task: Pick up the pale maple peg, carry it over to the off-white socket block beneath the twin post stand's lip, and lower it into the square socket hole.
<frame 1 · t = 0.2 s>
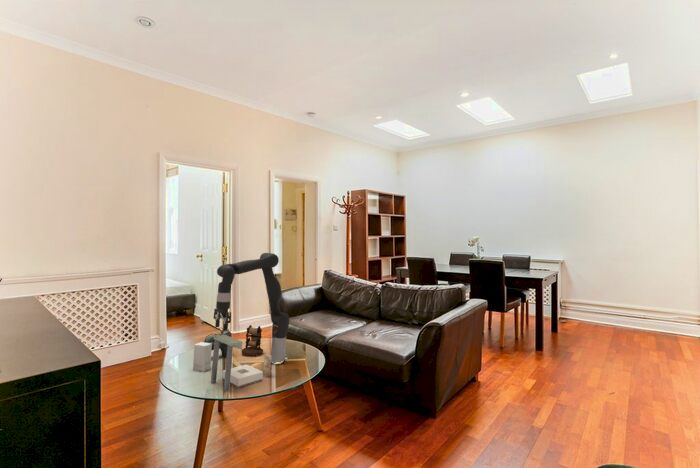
hand: (221, 328, 197), 29 cm above the table, fingers open, 8 cm apart
skincare box: (201, 369, 208), on the table
twin post stand: (223, 385, 188), on the table
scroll: (252, 354, 244), on the table
peg: (266, 376, 206), on the table
socket block: (242, 380, 197), on the table
ceramic cat: (215, 358, 230), on the table
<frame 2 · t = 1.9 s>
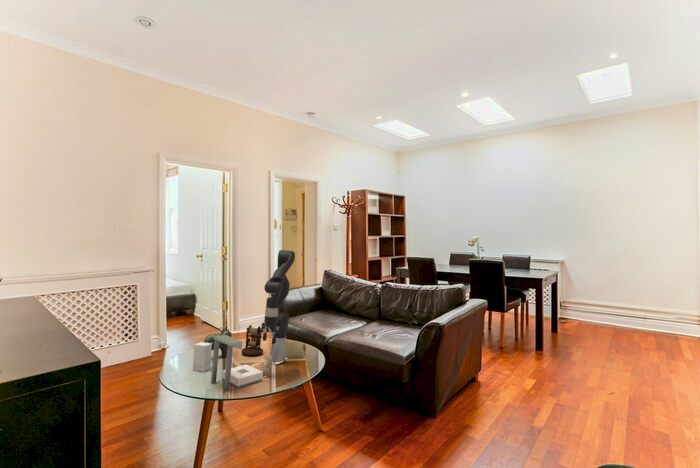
hand: (268, 342, 207), 20 cm above the table, fingers open, 8 cm apart
nothing on the table moved.
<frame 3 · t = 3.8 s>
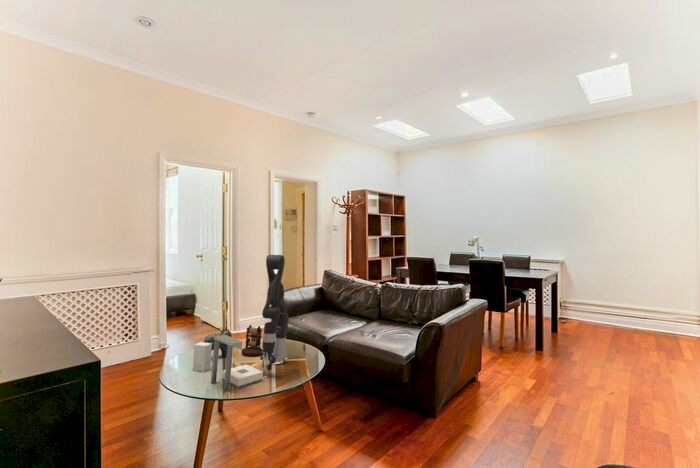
hand: (266, 368, 206), 4 cm above the table, fingers closed on peg, 4 cm apart
peg: (266, 376, 206), on the table, touching gripper
everything else where it was.
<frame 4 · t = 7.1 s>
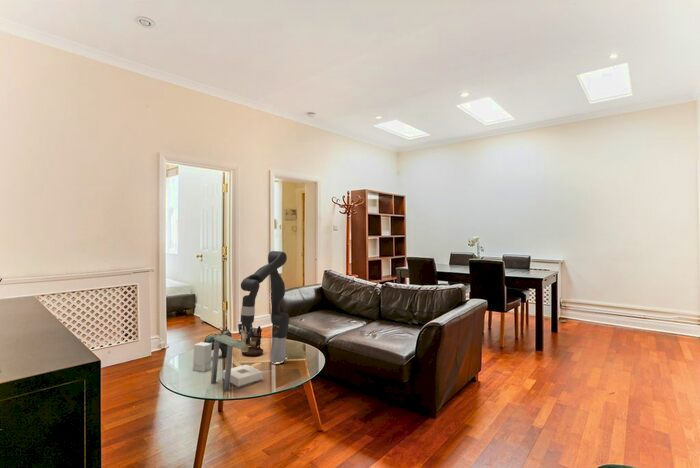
hand: (245, 343, 198), 21 cm above the table, fingers closed on peg, 4 cm apart
peg: (244, 350, 198), point 17 cm above the table, touching gripper
everything else where it was.
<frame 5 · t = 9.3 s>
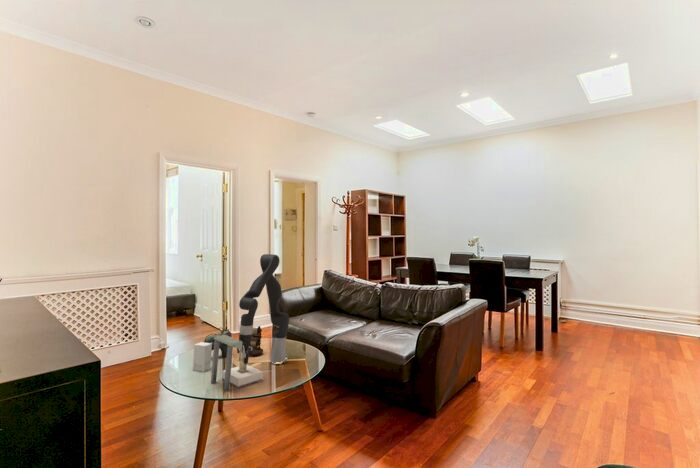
hand: (243, 362, 198), 10 cm above the table, fingers closed on peg, 4 cm apart
peg: (242, 370, 198), point 6 cm above the table, touching gripper
everything else where it was.
when the fingers open (6 cm above the table, at t = 10.7 s): peg stays where it is, resting on socket block.
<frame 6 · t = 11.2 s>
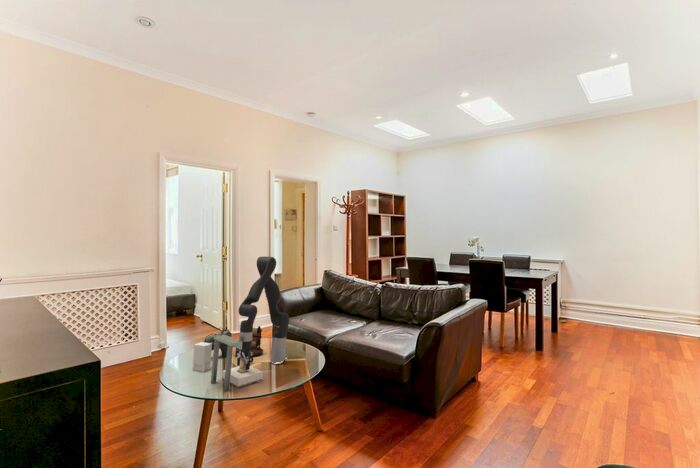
hand: (243, 367, 198), 7 cm above the table, fingers open, 8 cm apart
peg: (242, 378, 197), point 1 cm above the table, touching socket block
everything else where it was.
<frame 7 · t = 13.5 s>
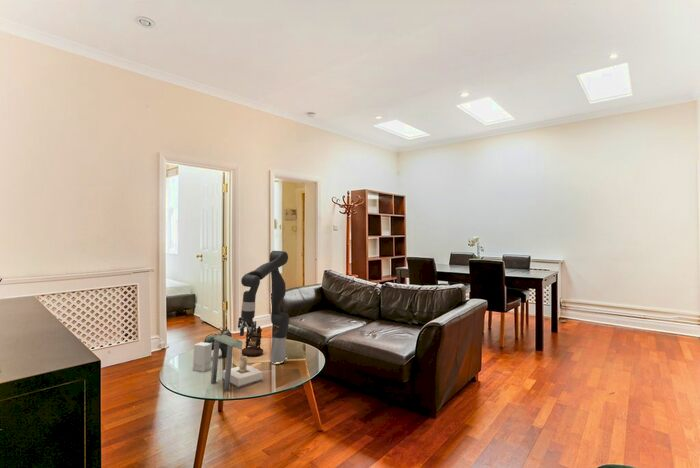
hand: (246, 337, 199), 24 cm above the table, fingers open, 8 cm apart
nothing on the table moved.
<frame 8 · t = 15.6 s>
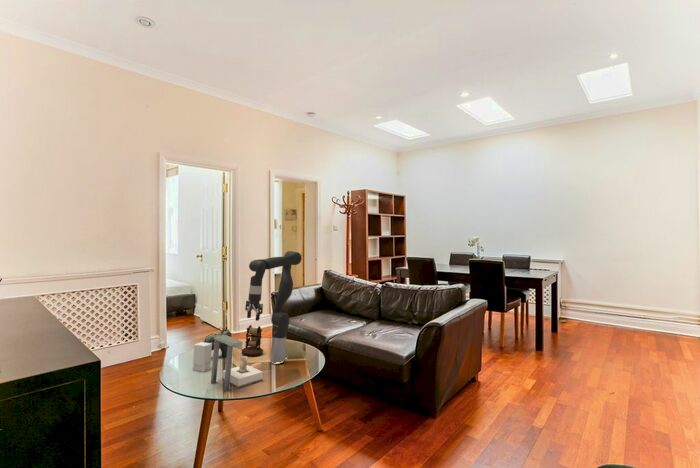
hand: (253, 319, 211), 32 cm above the table, fingers open, 8 cm apart
nothing on the table moved.
at the end: peg 0.0 cm off-centre on the socket block, point 1.0 cm above the socket block's base; peg tilted 0°; the gripper is holding nothing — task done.
